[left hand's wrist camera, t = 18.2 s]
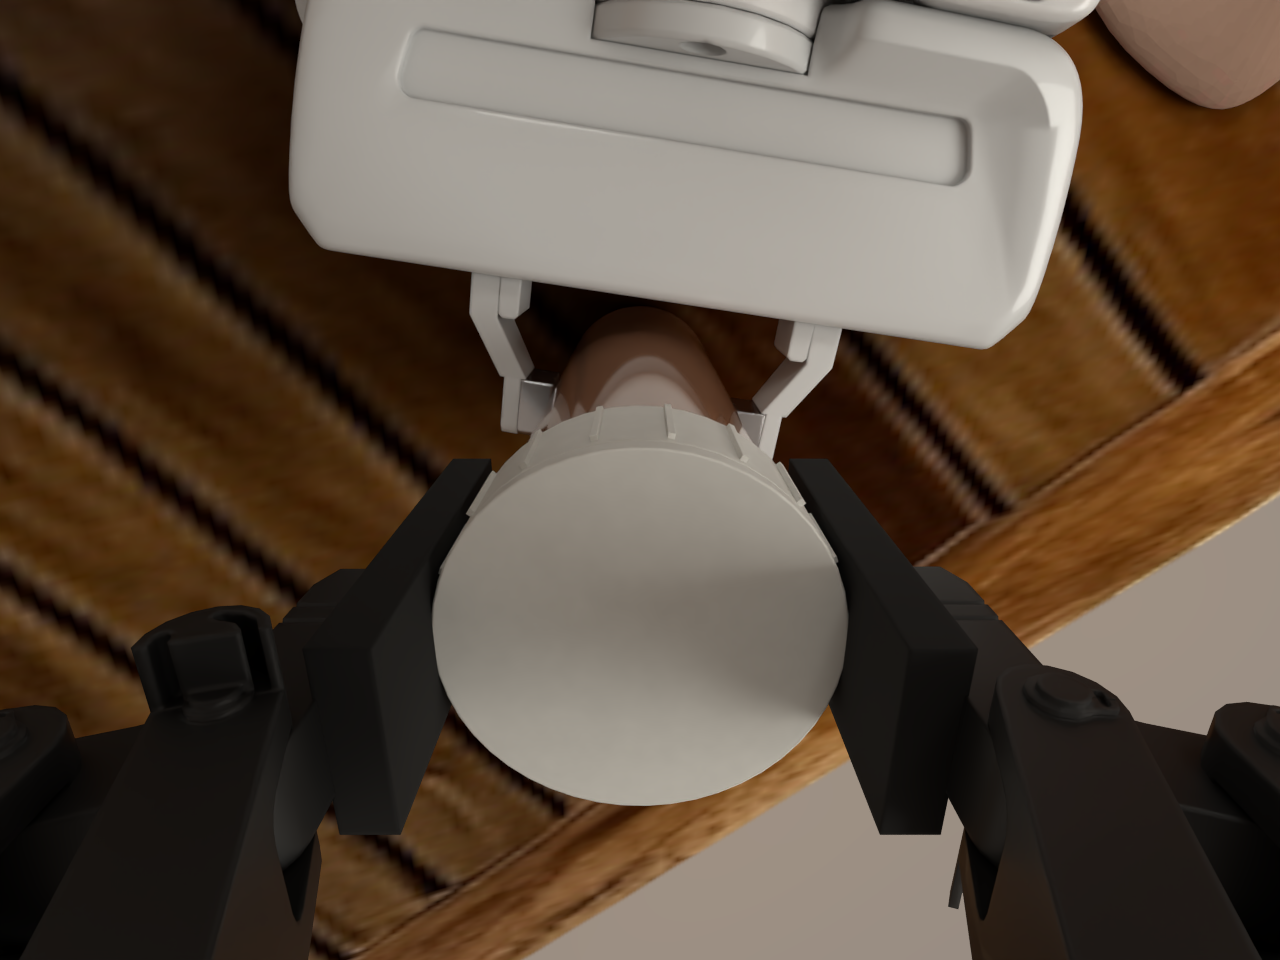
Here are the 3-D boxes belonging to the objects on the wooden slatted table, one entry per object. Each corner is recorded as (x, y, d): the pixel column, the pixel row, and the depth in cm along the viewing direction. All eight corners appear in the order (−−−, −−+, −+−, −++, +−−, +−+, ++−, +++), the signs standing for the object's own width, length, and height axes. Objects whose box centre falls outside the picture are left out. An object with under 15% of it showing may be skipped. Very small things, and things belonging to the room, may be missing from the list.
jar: (544, 350, 27) (384, 561, 10) (667, 279, 26) (719, 380, 9) (614, 466, 29) (578, 812, 12) (733, 402, 28) (877, 681, 11)
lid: (591, 764, 13) (582, 863, 11) (390, 519, 12) (336, 584, 10) (874, 622, 12) (923, 704, 10) (702, 326, 10) (717, 352, 8)
